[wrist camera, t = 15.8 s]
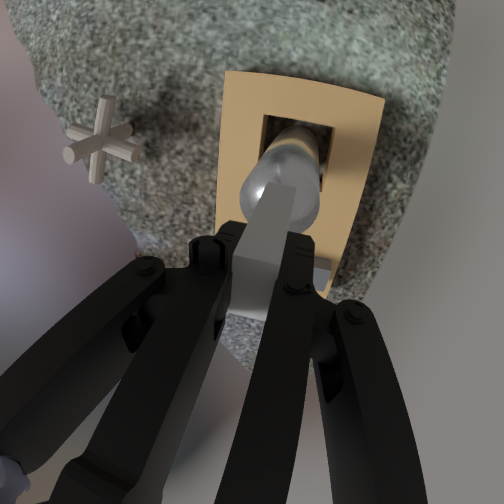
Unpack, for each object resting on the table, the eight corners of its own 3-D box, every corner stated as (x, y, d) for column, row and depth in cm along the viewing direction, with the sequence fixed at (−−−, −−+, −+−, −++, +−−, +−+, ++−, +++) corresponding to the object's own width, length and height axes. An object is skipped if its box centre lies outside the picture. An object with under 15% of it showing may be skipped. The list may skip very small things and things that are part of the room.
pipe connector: (171, 102, 25) (113, 117, 17) (151, 178, 31) (101, 216, 23) (105, 84, 25) (43, 98, 17) (93, 154, 31) (40, 183, 23)
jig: (234, 71, 22) (218, 69, 18) (377, 97, 21) (391, 100, 17) (221, 264, 37) (208, 289, 33) (324, 286, 35) (323, 314, 31)
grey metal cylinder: (277, 122, 25) (242, 157, 14) (321, 130, 24) (327, 173, 13) (271, 162, 27) (236, 229, 16) (313, 170, 27) (310, 244, 16)
